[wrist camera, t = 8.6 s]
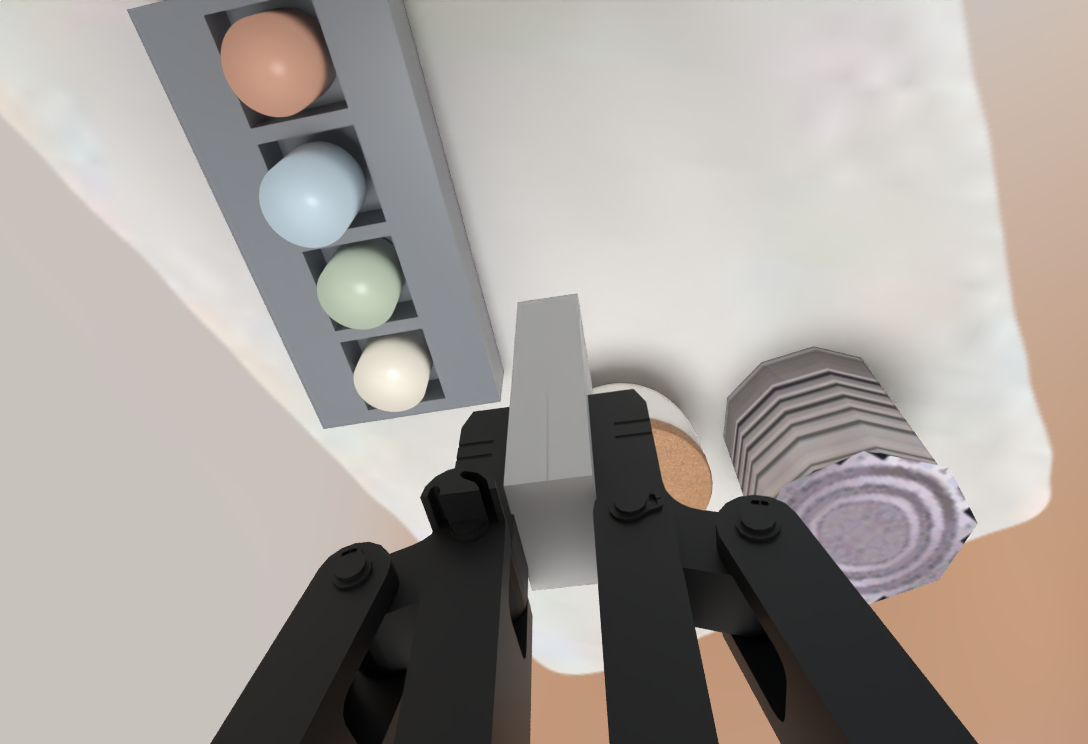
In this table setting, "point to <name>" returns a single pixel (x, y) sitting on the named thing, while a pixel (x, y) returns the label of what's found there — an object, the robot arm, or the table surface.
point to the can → (847, 469)
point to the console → (388, 211)
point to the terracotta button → (277, 61)
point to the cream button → (394, 370)
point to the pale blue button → (313, 194)
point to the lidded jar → (674, 448)
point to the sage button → (361, 284)
